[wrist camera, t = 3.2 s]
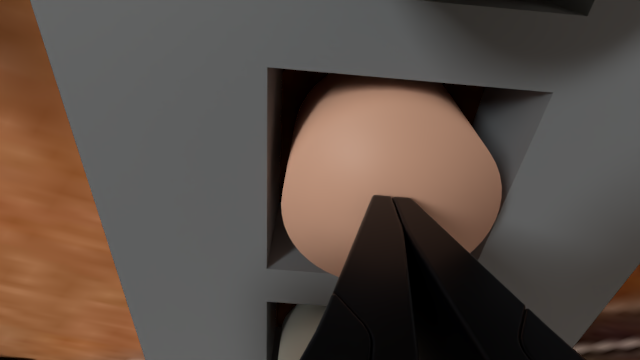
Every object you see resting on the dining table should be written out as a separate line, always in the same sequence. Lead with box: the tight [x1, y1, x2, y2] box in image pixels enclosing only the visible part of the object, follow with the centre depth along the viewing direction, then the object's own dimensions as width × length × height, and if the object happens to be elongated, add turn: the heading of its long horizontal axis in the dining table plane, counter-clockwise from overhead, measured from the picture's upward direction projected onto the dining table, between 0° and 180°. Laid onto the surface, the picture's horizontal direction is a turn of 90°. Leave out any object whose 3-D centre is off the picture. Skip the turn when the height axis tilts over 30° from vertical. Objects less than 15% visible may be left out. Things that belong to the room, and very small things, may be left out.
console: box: [30, 0, 640, 360], centre depth 10 cm, size 21×14×3 cm, turn 175°
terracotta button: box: [281, 73, 502, 277], centre depth 10 cm, size 5×5×3 cm
